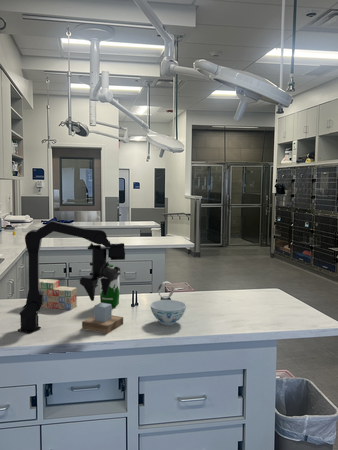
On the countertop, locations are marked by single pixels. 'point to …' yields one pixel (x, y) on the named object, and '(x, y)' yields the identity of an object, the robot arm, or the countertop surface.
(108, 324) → the walnut base
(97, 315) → the grey block
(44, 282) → the stack of blocks
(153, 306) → the chinaware
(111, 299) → the milk carton
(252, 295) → the countertop surface
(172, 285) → the watch
